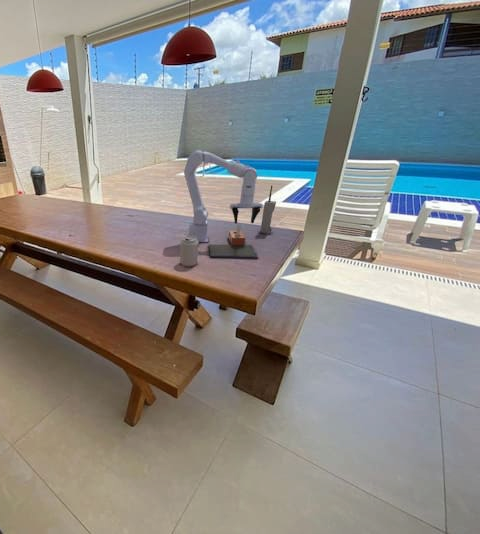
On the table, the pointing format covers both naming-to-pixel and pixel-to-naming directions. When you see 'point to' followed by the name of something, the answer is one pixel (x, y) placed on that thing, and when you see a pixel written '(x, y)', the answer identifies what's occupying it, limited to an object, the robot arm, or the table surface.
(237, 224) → the stylus
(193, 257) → the can
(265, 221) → the vintage mobile phone
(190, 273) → the table surface
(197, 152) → the robot arm
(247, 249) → the tablet
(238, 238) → the pen stand
